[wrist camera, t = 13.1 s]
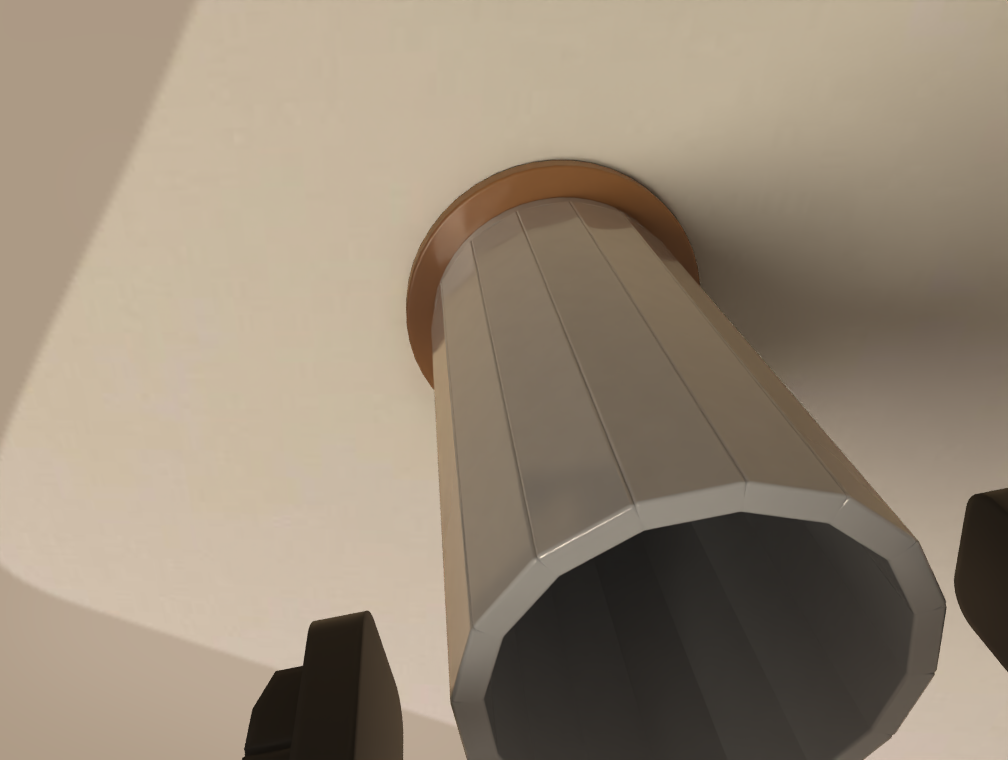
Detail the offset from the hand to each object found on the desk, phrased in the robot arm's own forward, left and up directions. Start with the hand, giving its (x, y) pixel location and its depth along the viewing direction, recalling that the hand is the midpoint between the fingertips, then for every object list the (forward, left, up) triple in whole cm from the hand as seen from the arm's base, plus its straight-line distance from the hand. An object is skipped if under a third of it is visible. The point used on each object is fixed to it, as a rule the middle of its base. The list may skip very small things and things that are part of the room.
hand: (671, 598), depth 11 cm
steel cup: (0, 0, -10) cm, 10 cm away
